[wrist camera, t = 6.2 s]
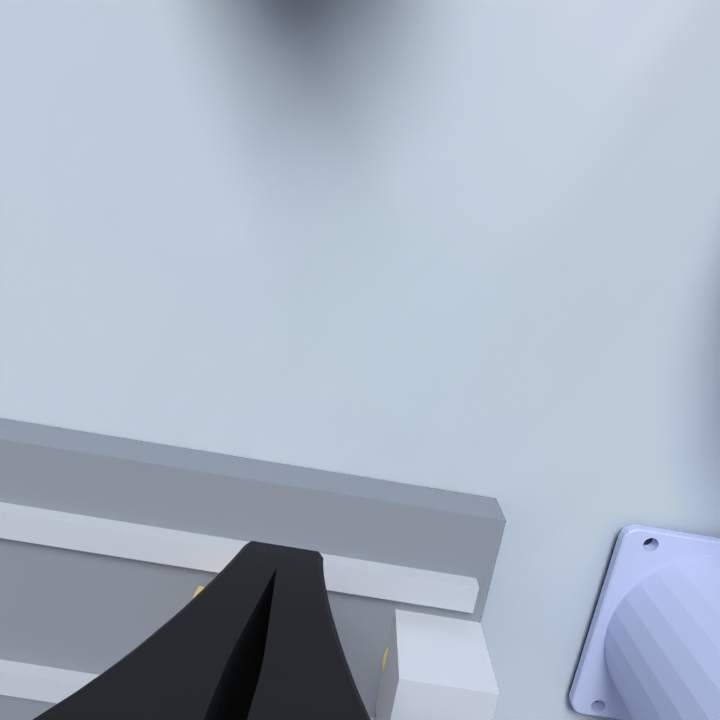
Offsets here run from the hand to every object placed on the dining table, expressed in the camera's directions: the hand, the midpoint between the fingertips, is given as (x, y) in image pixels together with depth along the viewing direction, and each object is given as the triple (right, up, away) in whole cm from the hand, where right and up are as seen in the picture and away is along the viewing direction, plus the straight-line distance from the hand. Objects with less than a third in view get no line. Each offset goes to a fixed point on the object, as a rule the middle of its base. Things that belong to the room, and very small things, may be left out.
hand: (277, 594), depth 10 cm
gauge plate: (-4, -5, +11) cm, 13 cm away
